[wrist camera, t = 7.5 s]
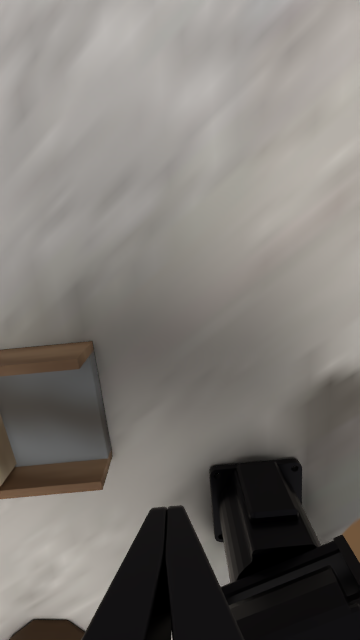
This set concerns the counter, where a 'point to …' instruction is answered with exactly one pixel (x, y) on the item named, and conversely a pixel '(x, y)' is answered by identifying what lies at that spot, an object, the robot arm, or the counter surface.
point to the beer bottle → (49, 631)
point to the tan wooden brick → (5, 454)
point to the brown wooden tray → (53, 420)
